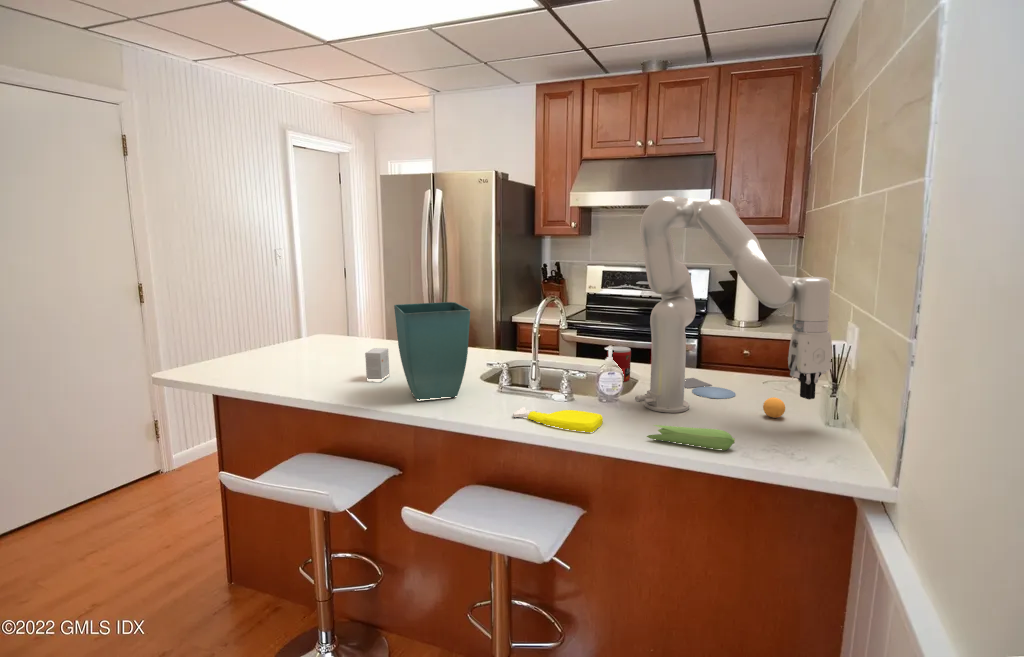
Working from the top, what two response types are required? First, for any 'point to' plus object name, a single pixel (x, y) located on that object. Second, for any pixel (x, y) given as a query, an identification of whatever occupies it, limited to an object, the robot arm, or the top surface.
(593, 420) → the spray bottle
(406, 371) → the flower pot
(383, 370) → the small box
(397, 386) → the top surface
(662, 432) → the edible corn
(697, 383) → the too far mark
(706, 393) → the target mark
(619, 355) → the canned food
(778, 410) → the ball
